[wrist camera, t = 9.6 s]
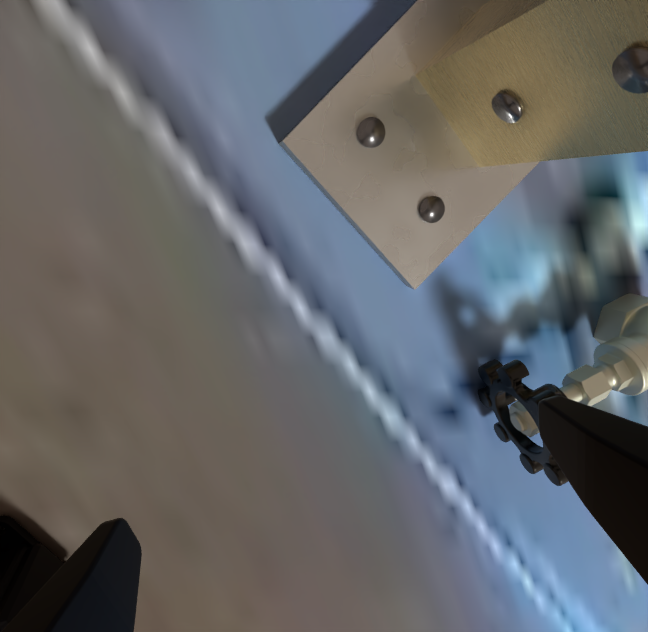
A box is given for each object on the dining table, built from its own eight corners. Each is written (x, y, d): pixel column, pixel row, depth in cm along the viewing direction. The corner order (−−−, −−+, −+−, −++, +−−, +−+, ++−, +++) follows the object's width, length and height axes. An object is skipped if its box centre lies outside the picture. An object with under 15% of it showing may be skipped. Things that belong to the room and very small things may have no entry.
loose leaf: (477, 169, 20) (937, 128, 7) (412, 78, 18) (876, -182, 6) (540, 104, 20) (1110, -48, 7) (482, 5, 18) (1106, -418, 6)
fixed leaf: (406, 285, 22) (500, 329, 15) (278, 143, 18) (323, 113, 11) (581, 105, 22) (760, 63, 15) (484, -71, 18) (656, -233, 11)
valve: (639, 259, 25) (463, 346, 24) (779, 280, 19) (553, 399, 18) (650, 354, 28) (490, 439, 26) (778, 400, 21) (578, 515, 20)
